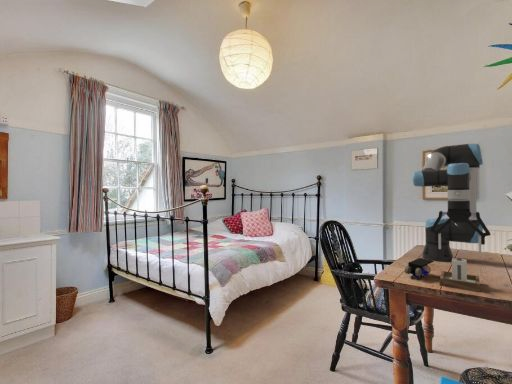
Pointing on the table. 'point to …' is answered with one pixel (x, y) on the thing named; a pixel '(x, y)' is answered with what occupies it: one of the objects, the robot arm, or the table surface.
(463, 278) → the strip block
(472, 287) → the brown wooden square tray
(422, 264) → the figurine character
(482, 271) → the table surface
